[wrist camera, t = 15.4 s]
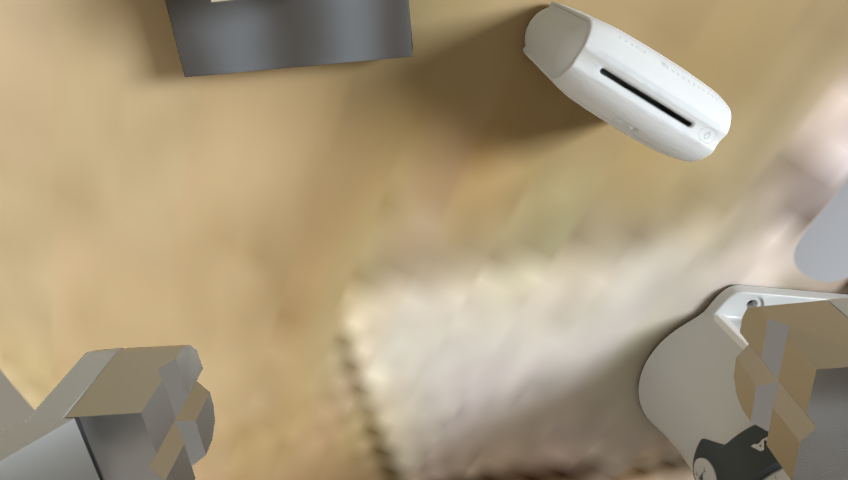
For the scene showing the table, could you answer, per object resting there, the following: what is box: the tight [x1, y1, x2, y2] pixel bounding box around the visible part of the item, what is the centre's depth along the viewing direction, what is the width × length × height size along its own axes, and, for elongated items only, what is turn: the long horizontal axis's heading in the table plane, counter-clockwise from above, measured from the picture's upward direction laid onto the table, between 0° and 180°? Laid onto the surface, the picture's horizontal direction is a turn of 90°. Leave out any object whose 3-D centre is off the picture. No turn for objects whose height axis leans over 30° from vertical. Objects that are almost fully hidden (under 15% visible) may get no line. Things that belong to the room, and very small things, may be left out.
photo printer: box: [523, 2, 731, 162], centre depth 36 cm, size 10×4×12 cm, turn 61°
